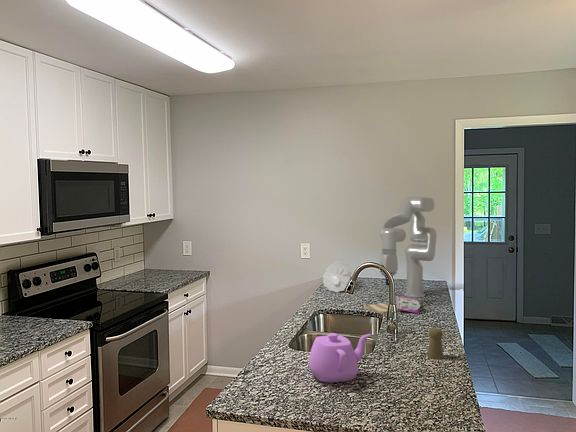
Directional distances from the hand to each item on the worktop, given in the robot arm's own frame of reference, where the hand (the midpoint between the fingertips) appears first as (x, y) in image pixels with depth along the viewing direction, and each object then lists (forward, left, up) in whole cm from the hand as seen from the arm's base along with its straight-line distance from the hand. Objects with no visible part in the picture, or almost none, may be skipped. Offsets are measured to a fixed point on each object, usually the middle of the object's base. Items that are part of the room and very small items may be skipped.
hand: (389, 285), depth 264 cm
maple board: (+4, 0, -13) cm, 13 cm away
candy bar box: (-12, +2, -10) cm, 16 cm away
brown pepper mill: (+42, +64, -13) cm, 77 cm away
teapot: (+86, +55, -13) cm, 103 cm away
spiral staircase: (-10, -54, -13) cm, 57 cm away
